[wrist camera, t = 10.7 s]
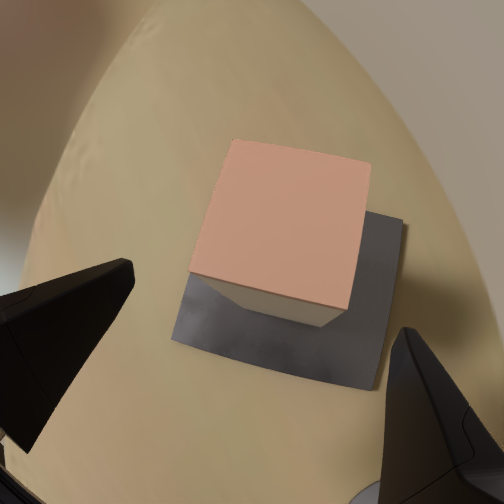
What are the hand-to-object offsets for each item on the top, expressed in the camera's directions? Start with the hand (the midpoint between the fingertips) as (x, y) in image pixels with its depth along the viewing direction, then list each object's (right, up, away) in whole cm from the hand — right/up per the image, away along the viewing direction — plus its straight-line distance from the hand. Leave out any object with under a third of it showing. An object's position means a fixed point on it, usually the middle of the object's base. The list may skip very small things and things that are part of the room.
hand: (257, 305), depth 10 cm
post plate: (+3, -1, +14) cm, 14 cm away
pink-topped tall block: (+3, 0, +13) cm, 13 cm away
